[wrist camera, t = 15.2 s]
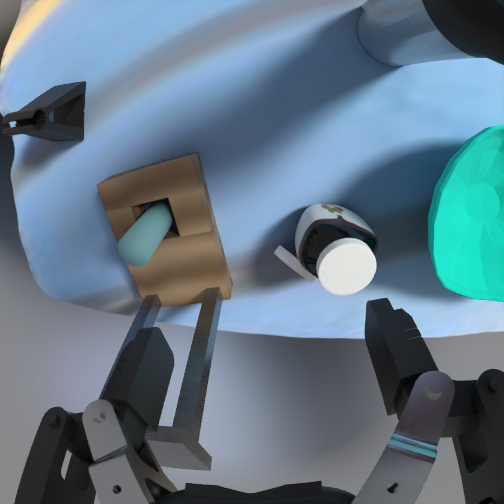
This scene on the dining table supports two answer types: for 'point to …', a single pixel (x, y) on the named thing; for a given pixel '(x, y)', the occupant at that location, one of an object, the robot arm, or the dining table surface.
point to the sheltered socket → (175, 285)
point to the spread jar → (333, 249)
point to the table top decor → (471, 219)
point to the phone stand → (65, 114)
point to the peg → (146, 234)
